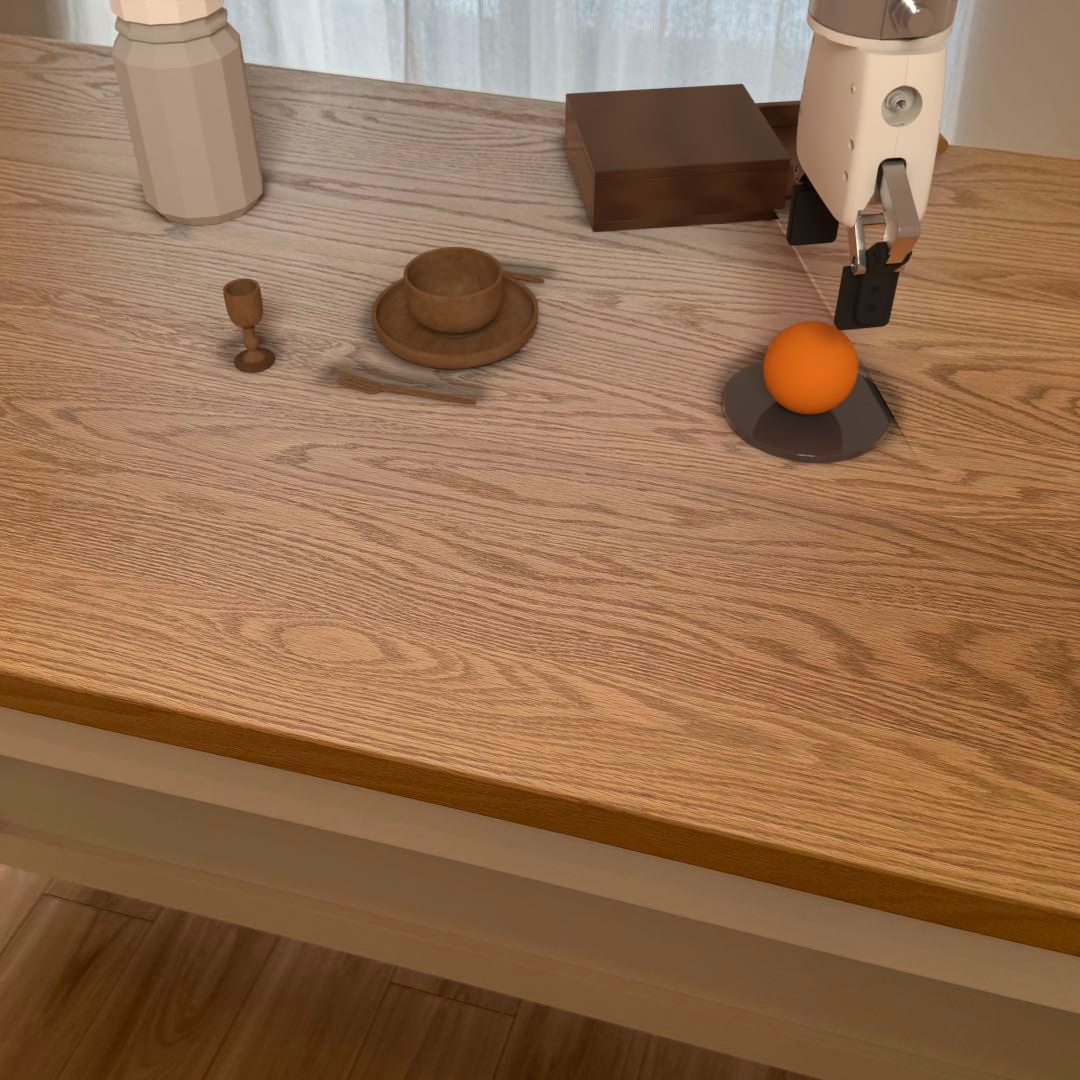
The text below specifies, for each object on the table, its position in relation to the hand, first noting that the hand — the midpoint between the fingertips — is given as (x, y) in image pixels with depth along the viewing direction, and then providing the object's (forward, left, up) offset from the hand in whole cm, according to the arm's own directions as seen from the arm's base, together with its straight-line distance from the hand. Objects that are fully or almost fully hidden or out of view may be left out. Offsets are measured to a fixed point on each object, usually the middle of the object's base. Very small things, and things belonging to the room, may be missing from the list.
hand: (834, 282), depth 76 cm
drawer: (-11, -33, -9) cm, 36 cm away
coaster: (0, 0, -10) cm, 10 cm away
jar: (+41, -35, -10) cm, 55 cm away
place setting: (+26, -14, -10) cm, 31 cm away
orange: (+1, 0, -9) cm, 9 cm away
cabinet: (+2, -33, -10) cm, 34 cm away
